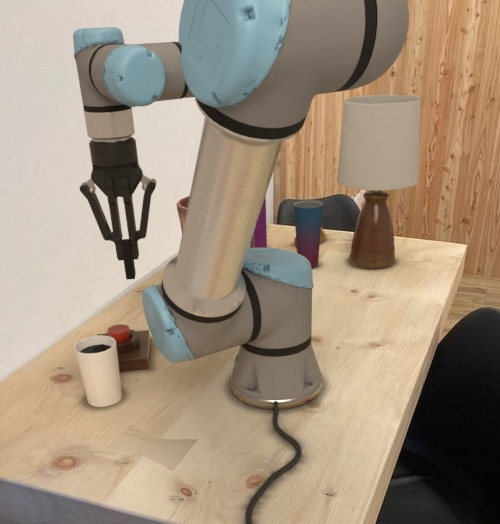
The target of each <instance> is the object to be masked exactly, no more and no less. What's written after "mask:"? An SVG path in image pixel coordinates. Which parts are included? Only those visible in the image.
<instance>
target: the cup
mask: <svg viewBox="0 0 500 524" xmlns="http://www.w3.org/2000/svg"><path fill="white" fill-rule="evenodd" d="M293 208H294V223H295V224H294V225H295V237H296V244H295V245H296V253H298V254H300V255H302V256H304V257H305V258H306V259H307V260H308V261H309V262H310V264H311V267H312V269H315V268H317V267H318V266H319V257H320V256H319V255H320V244H321V242H320V233H321V227H322V222H323V221H322V220H323V219H322V218H323V208H324V203H323V202H322V201H319V200H312V199H311V200H310V199H309V200H300V201H297V202H294V204H293Z"/></svg>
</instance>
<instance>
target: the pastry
mask: <svg viewBox="0 0 500 524" xmlns="http://www.w3.org/2000/svg"><path fill="white" fill-rule="evenodd" d="M327 238H328V237H327V234H326V232H325V230H324V228H323V227H322V226H321V233H320V243H323V242H324V241H325V240H326V239H327ZM294 245H297V244H296V236H295V238H294Z"/></svg>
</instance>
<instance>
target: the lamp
mask: <svg viewBox="0 0 500 524" xmlns="http://www.w3.org/2000/svg"><path fill="white" fill-rule="evenodd" d="M421 106H422V98H421V97H419V96H416V95H408V94H407V95H406V94H368V95H359V96H352V97H347V98H345V99H344V104H343V114H342V122H341V123H342V124H341V135H340V143H339V144H340V145H339V155H338V166H337V177H336V182H337V184H338V185H339V186H342V187H345V188H348V189H354V190H360V191H365V192H364V193H363V195H362V196H363V198H364V204H363V205H362V207H361V209H360V212H359V214H358V216H357V219H356V222H355V226H354V230H353V234H352V235H353V236H352V239H351V245H350V251H349V263H351V265H353V266H354V267H357V268H361V269H366V270H379V269H385V268H388V267H390V266H391V267H392V266H393V264H394V263H395V260H396V253H395V250H396V248H395V247H396V245H395V236H394V235H395V233H394V225H393V220H392V219H393V218H392V215H391V211H390V209H389V205H388V203H387V200H388V198H389V197H390V194H389V192H387V191H394V190H402V189H407V188H411V187H413V186H416V185H417V184H418V183H419V170H420V169H419V165H420V141H421V140H420V136H421V132H420V131H421Z"/></svg>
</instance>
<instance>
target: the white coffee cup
mask: <svg viewBox="0 0 500 524" xmlns="http://www.w3.org/2000/svg"><path fill="white" fill-rule="evenodd" d="M73 350H74V354H75V358H76V361H77V366H78V370H79V373H80V377H81V381H82V385H83V390H84V393H85V397H86V402H87V403H88V405H90V406H92V407H97V408H105V407H110V406H113V405H115V404H117V403H119V402H120V401H121V400H122V398H123V391H122V382H121V373H120V372H121V371H119V363H118V355H117V346H116V341H115V339H114V338H112V337H109V336H102V335H100V336H97V335H92V336H87V337H84V338H82V339H80V340H78V341H77V342H76V343H75V344H74V346H73Z"/></svg>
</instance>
